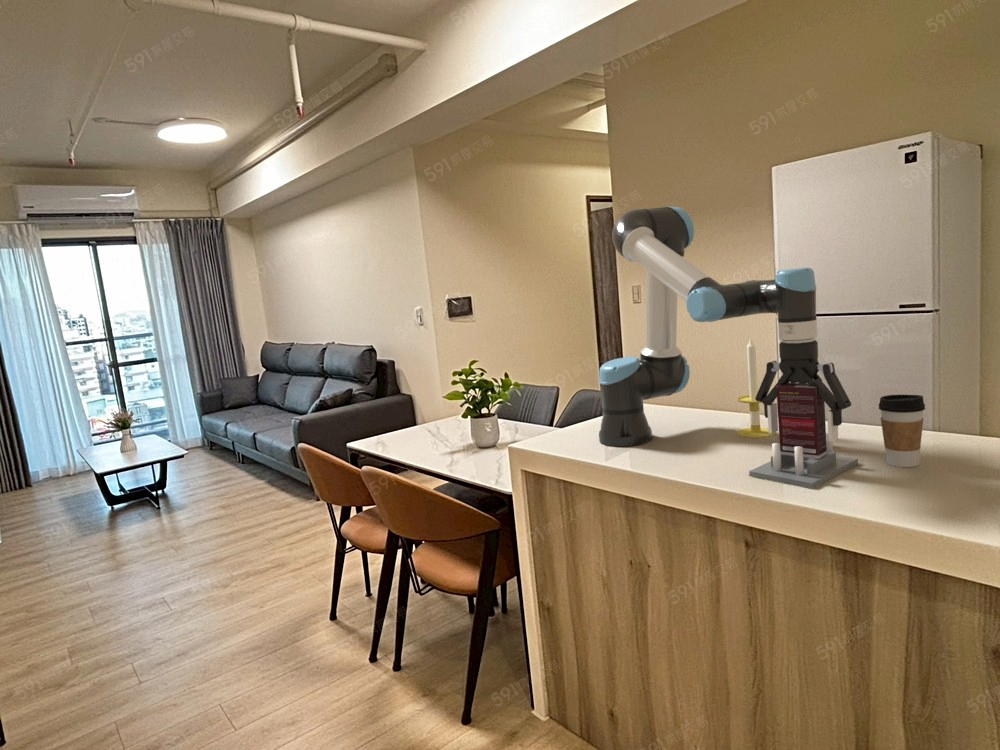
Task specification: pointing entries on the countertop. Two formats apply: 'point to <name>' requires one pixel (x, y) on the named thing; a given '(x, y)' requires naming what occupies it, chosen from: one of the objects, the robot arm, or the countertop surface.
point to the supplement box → (801, 420)
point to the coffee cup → (902, 428)
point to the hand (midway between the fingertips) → (802, 435)
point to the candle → (753, 399)
